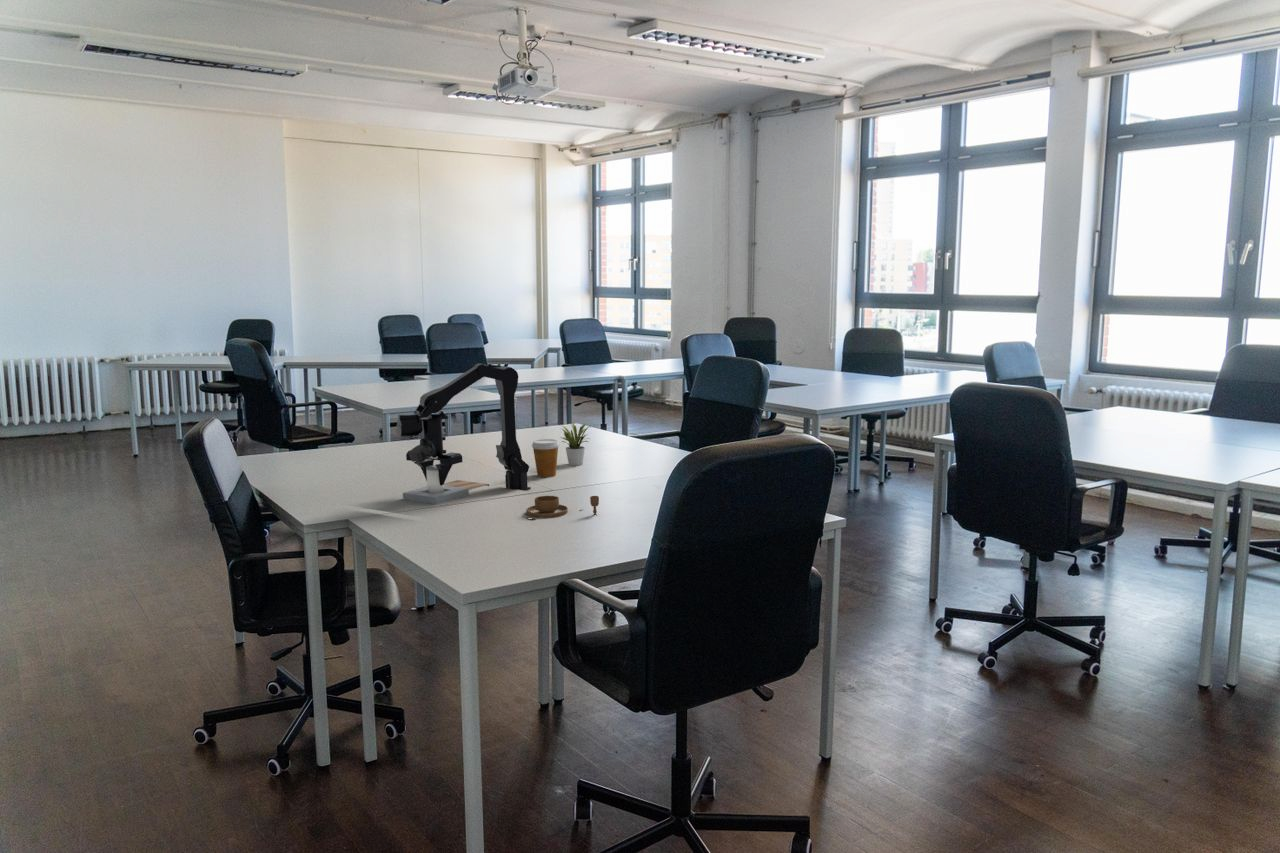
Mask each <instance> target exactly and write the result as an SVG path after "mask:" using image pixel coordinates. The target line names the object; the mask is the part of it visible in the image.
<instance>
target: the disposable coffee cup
mask: <svg viewBox="0 0 1280 853" xmlns="http://www.w3.org/2000/svg"><path fill="white" fill-rule="evenodd" d="M559 446H560V443H559V440H558V439H552V438H551V439H550V438H548V439H546V438H545V439H543V438H542V439H535V440H533V441H532V444H531V447H532V451H533V455H534V460H535V468H536V473H537V474H536V475H537V476H538V477H539V476H540V478H552V477H555V476H556V475H557V466H558V464H557V463H558V454H559V453H558V452H559ZM551 476H552V477H551Z"/></svg>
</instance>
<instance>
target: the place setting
mask: <svg viewBox="0 0 1280 853" xmlns="http://www.w3.org/2000/svg"><path fill="white" fill-rule="evenodd" d="M599 498H600V497H599V496H598V495H592V496H589V500H590V501H589V502H590V506H591V507H592V508H593V509H592V513H593V515H596V516H597V513H598V512H597V507H598V506H599V504H600V499H599ZM559 500H560V497H558V496H556V495H541V496H540V495H539V496H537V497H535V498H534V505H532V506H529V507H527V508H526V509H525V512H526V514H527V515H528V516H522V515H521V516H522V517H521V518H524V517H525V519H527V520H529V519H528V518H532V519H530V520H531V521H533V520H536V518H539V517H543V518H545V519H546V518H548V517H549V518H556V516H557V517H560V516H563V515H566V514H567V513H568V510H569V508H568V506H566V505H563V504H560V501H559ZM534 510H535V511H538V512H537V513H535V512H534ZM557 510H560V511H558V512H556V511H557ZM563 510H564V511H563ZM531 511H532V512H531ZM578 511H580V512H581V511H582V509H580V510H578ZM529 515H530V516H529ZM593 515H592V516H593ZM532 516H533V517H532ZM543 518H542V519H543ZM530 520H529V521H530Z"/></svg>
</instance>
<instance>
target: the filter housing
mask: <svg viewBox="0 0 1280 853" xmlns="http://www.w3.org/2000/svg"><path fill="white" fill-rule="evenodd" d="M469 492H470V490H469V489H468V488H460V487H453V486H446V485H444V492H441V493H438V494H433V493H428V490H427V486H424V487H420V488H416V489H413V490H409V491H405V492H404V491H403V492H402V499H403V500H404V499H406V500H405V501H411V502H417V503H419V502H420V503H424V504H432V505H440V504H442V503H446V502H450V501H452V500H456V499H459V498H460V499H461V498H463V497H467V496H469V495H470V493H469Z"/></svg>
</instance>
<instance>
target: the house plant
mask: <svg viewBox="0 0 1280 853" xmlns="http://www.w3.org/2000/svg"><path fill="white" fill-rule="evenodd" d="M587 424H589V422H585V423H583V424H582V425H581V426H580V427H579V429H578V430H577V426H576V425H575V424H574V422H572V423H571V424H570V426H571V430H570V431H569V429H568V428H567V427H566V426H564V425H562V424H560V426H561V427H563V428H561V430H562V431H563V435H564V437H559V438H560V439H563V441H561V443H565V444H567V445H568V446H566V447H565V451H566V452H565V453H566V457H567V462H568V466H572V465H577V466H583V464H584V458H585V450H586V449H585V448H586V447H585V446H583V445H581V444H583V443H585V442H587V443H589V441H588V440H591V438H590V437H587V438H586V436H587V435H589V434H588V433H586V431H587V430H588V429H589V428H591V427H593V426H596V424H594V425H590V426H588V427H586V425H587ZM585 427H586V428H585ZM585 433H586V434H585ZM586 439H587V440H586ZM564 440H565V441H564ZM566 441H567V442H566Z"/></svg>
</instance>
